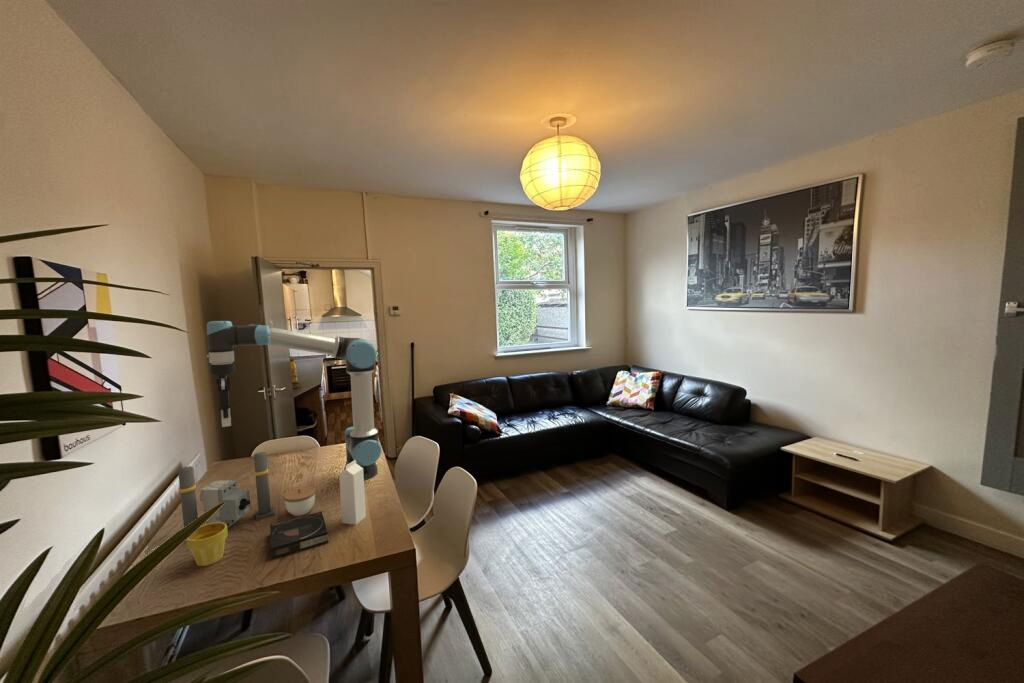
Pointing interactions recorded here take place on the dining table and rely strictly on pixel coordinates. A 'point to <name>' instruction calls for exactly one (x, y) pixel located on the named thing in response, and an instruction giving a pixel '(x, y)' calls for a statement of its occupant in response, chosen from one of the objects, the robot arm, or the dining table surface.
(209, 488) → the circuit breaker
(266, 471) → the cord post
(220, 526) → the plant pot
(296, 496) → the lidded jar
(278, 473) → the dining table surface
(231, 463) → the dining table surface
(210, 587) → the dining table surface
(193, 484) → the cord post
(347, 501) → the milk
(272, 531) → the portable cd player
